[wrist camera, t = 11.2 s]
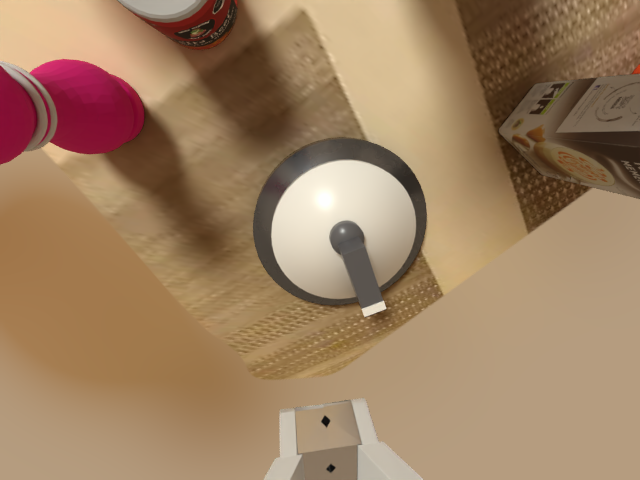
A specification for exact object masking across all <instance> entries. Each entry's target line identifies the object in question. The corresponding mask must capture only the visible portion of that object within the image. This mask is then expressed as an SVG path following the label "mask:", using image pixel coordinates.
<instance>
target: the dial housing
mask: <svg viewBox="0 0 640 480" xmlns="http://www.w3.org/2000/svg"><path fill="white" fill-rule="evenodd" d="M339 159H352V160H360V161H364V162H368V163H370V164H373V165H375V166H377V167H379V168H381V169H383V170H385V171H386V172H388V173H390V174H391V175H392V176H393V177H395V178H396V179H397V180H398V181H399V182H400V183H401V184H402V186H403V187H404V188H405V190H406V191H407V193H408V195H409V197H410V199H411V201H412V204H413V207H414V210H415V216H416V233H415V239H414V243H413V246H412V249H411V251H410V254H409V256H408V258H407V259H406V261H405V263H404V264H403V266H402V267H401V268H400V270H399V271H398V272H397V273H396V274H395V275H394V276H393V277H392V278H391V279H390V280H389V281H387V282H386V283H385V284H383V285H382V286H380V287H379V290H380V293H381V292H382V291H384V290H385V289H387V288H388V287H390V286H391V285H392V284H393V283H395V282H396V281H397V280H398V279H399V278H400V277H401V276H402V275H403V274H404V273H405V272H406V270H407V269H408V268H409V267H410V265H411V264H412V262H413V261H414V259H415V257H416V256H417V254H418V251H419V249H420V247H421V244H422V241H423V238H424V234H425V229H426V219H427V213H426V203H425V198H424V194H423V191H422V189H421V186H420V184H419V182H418V180H417V178H416V176H415V174H414V173H413V172H412V170H411V169H410V168H409V167H408V165H407V164H406V163H405V162H404V161H403V160H402V159H401V158H399V157H398V156H397V155H395V154H394V153H392V152H391V151H389V150H388V149H386V148H384V147H382V146H380V145H377V144H374V143H371V142H368V141H365V140H361V139H355V138H344V137H339V138H328V139H324V140H320V141H316V142H313V143H311V144H308V145H305V146H303V147H302V148H300V149H298V150H296V151H294V152H293V153H292V154H290V155H289V156H288V157H286V158H285V159H284V160H283V161H282V162H281V163H280V164H279V165H278V166H277V167H276V168H275V169H274V170H273V172H272V173H271V174H270V175H269V177H268V178H267V180H266V182H265V184H264V185H263V187H262V190H261V192H260V194H259V197H258V201H257V204H256V208H255V213H254V222H253V236H254V242H255V247H256V250H257V253H258V256H259V258H260V261H261V263H262V265H263V267H264V268H265V270H266V271H267V272H268V274H269V275H270V276H271V278H272V279H273V280H274V281H275V282H276V283H277V284H278V285H280V286H281V287H282V288H283V289H284V290H286V291H287V292H289V293H291V294H292V295H294V296H296V297H298V298H300V299H303V300H306V301H309V302H312V303H317V304H324V305H344V304H351V303H355V302H358V300H357V297H352V298H345V299H331V298H324V297H320V296H316V295H313V294H311V293H308V292H306V291H304V290H303V289H301V288H299V287H298V286H297V285H295V284H294V283H293V282H292V281H291V280H290V279H289V278H288V277H287V276H286V275H285V274H284V272H283V271H282V270H281V268H280V266H279V264H278V263H277V260H276V258H275V255H274V251H273V247H272V238H271V233H272V220H273V215H274V212H275V209H276V206H277V203H278V201H279V200H280V198H281V196H282V194H283V193H284V191H285V190H286V188H287V187H288V186H289V185H290V184H291V183H292V182H293V181H294V180H295V179H296V178H297V177H298V176H300V175H301V174H302V173H304V172H305V171H307V170H308V169H310V168H312V167H314V166H316V165H319V164H321V163H325V162H328V161H333V160H339Z"/></svg>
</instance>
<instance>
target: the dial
mask: <svg viewBox="0 0 640 480" xmlns="http://www.w3.org/2000/svg"><path fill="white" fill-rule="evenodd" d="M415 233H416V216H415V210H414V207H413V204H412V201H411V199H410V197H409V195H408V193H407V191H406V190H405V188H404V187H403V186H402V184H401V183H400V182H399V181H398V180H397V179H396V178H395V177H393V176H392V175H391V174H390V173H388V172H386V171H385V170H383V169H381V168H379V167H377V166H375V165H373V164H370V163H368V162H364V161H360V160H352V159H339V160H333V161H328V162H325V163H321V164H319V165H316V166H314V167H312V168H310V169H308V170H307V171H305V172H304V173H302V174H301V175H300V176H298V177H297V178H296V179H295V180H294V181H293V182H292V183H291V184H290V185H289V186H288V187H287V188H286V190H285V191H284V193H283V194H282V196H281V198H280V200H279V201H278V203H277V206H276V209H275V212H274V215H273V220H272V233H271V238H272V247H273V251H274V255H275V258H276V260H277V263H278V264H279V266H280V268H281V270H282V271H283V272H284V274H285V275H286V276H287V277H288V278H289V279H290V280H291V281H292V282H293V283H294V284H295V285H297V286H298V287H299V288H301V289H303V290H304V291H306V292H308V293H311V294H313V295H316V296H320V297H324V298H331V299H345V298H352V297H357V300H358V302H359V304H360V307H361V309H362V312H363V314H364V317H368V316H371V315H373V314H376V313H378V312H381V311H384V310H386V306H385V303H384V301H383V299H382V296H381V293H380V290H379V287H380V286H382V285H383V284H385V283H386V282H387V281H389V280H390V279H391V278H392V277H393V276H394V275H395V274H396V273H397V272H398V271H399V270H400V268H401V267H402V266H403V264H404V263H405V261H406V259H407V258H408V256H409V254H410V251H411V249H412V246H413V243H414V239H415Z"/></svg>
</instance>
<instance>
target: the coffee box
mask: <svg viewBox="0 0 640 480" xmlns="http://www.w3.org/2000/svg"><path fill="white" fill-rule="evenodd" d="M499 133H500V134H501V135H502V136H503V137H504V138H505V139H506V140H507V141H508V142H509V143H510V144H511V145H512V146H513V147H514V148H515V149H516V150H517V151H518V152H519V153H520V154H521V155H522V156H523V157H524V158H525V159H526V160H527V161H528V162H529V163H530V164H531V165H532V166H533V167H534V168H535V169H536V170H537V171H538V172H539V173H540V174H542V175H544V176H548V177H552V178H556V179H560V180H564V181H569V182H573V183H577V184H581V185H585V186H589V187H593V188H597V189H601V190H606V191H609V192H613V193H618V194H622V195H626V196H630V197H634V198H638V199H640V74H630V75H619V76H608V77H599V78H589V79H578V80H567V81H557V82H546V83H537V84H535V85H534V86H533V87H532V89H531V90H530V91H529V92H528V94H527V95H526V96H525V97H524V98H523V100H522V101H521V102H520V103H519V105H518V106H517V107H516V108H515V110H514V111H513V112H512V113H511V115H510V116H509V117H508V118H507V120H506V121H505V122H504V124H503V125H502V126H501V127H500V129H499Z"/></svg>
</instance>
